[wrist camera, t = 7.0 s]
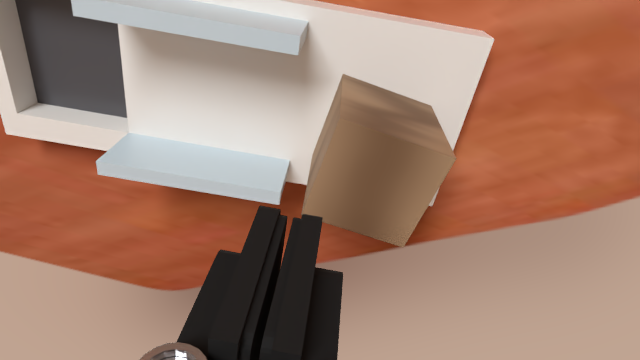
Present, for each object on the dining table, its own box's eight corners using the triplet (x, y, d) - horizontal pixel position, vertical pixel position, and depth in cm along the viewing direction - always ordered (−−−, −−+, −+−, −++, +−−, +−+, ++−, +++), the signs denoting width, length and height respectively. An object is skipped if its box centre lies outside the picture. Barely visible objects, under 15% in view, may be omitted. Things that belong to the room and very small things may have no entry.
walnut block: (431, 105, 21) (456, 158, 16) (392, 181, 24) (403, 247, 19) (342, 73, 21) (339, 117, 16) (312, 154, 23) (301, 215, 18)
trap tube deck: (482, 30, 21) (520, 57, 16) (427, 189, 26) (443, 243, 22) (-14, -59, 20) (-123, -58, 16) (29, 121, 26) (-44, 161, 21)
